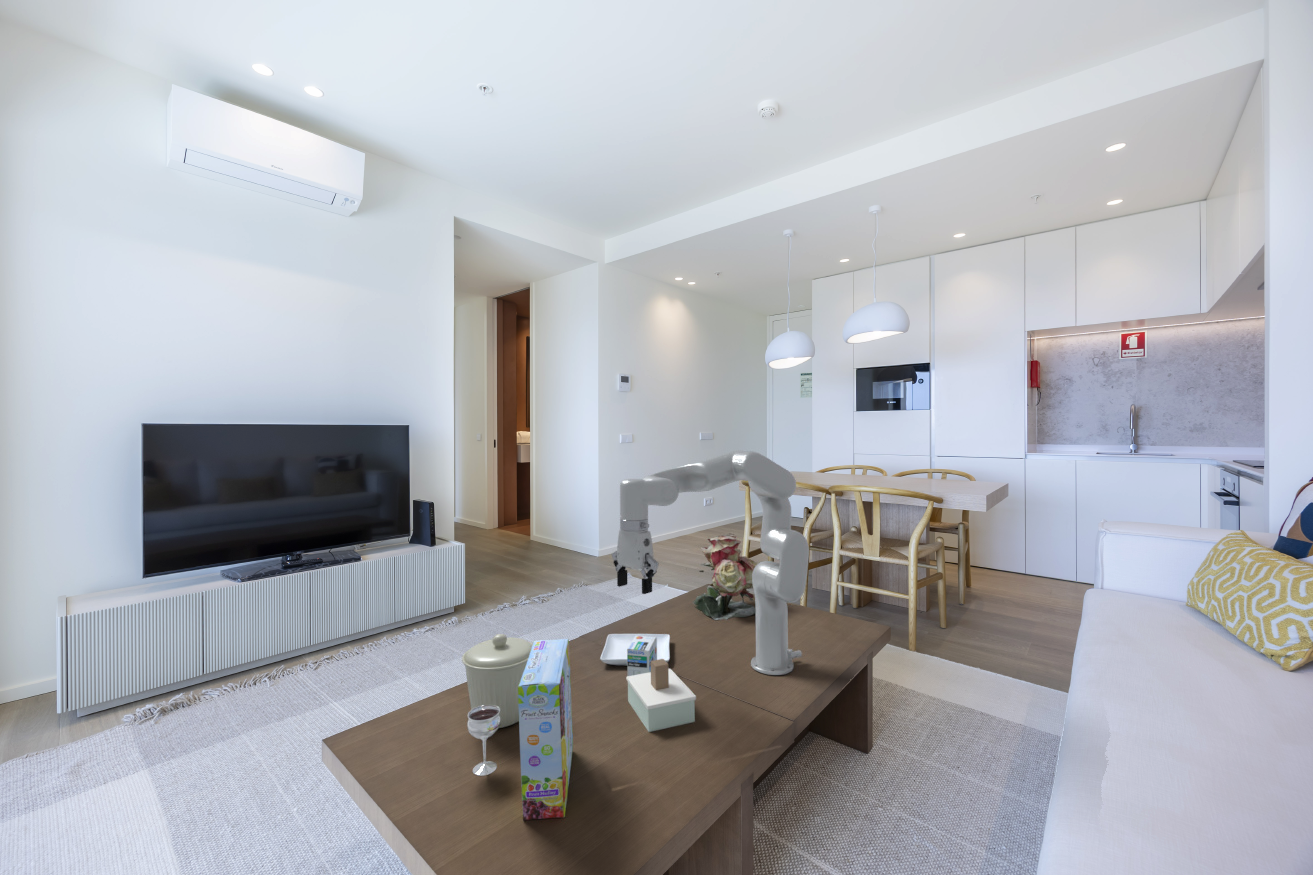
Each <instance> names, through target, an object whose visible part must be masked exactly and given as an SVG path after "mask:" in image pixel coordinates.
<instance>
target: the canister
mask: <svg viewBox="0 0 1313 875" xmlns="http://www.w3.org/2000/svg"><path fill="white" fill-rule="evenodd" d="M532 645H533V642H531V641H528V640H526V639H524V638H520V637H510V636H509V637H508V636H507V635H505V634H504V633H498V634H495V635H494V636H493V638H491V639H487V640H484V641H482V642H479V643H477V644H475V645H473V646H471V648H469V649H468V650H466V651H465V652H464V653H463V655H462V657H461V662H462V664H463V666H464V668H465V676H466V683H467V690H468V696H469V703H470V711H471V710H472V709H474V708H476V707H479V706H483V705H495V706H497V707H499V709H500V712H499V716H500V719H501V720H500V725H499V728H498V729H502V728H506V727H510V726H513V725H515V724H516V723H519V707H518V686H519V684H520V681H521V678H522V675H523V672H524V669H525V667H526V664H527V661H528V658H529V655H530V652H531V648H532Z"/></svg>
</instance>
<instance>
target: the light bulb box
mask: <svg viewBox="0 0 1313 875" xmlns="http://www.w3.org/2000/svg"><path fill="white" fill-rule="evenodd" d="M654 660H657V638H656V637H646V636H635V638H634V639H633V641H632V642H631V644H630V645H629V647H628V649H627V665H626V666H627V667H626V668H627V676H632V675H638V674H643V673H649V672H651V661H654Z"/></svg>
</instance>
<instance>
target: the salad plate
mask: <svg viewBox="0 0 1313 875" xmlns="http://www.w3.org/2000/svg"><path fill="white" fill-rule="evenodd" d="M635 636H646V637H656V638H657V660H659V659H664V660H665V661H666V662H667V663H669V662H670V658H671V655H670V643H671V642H670V640H671V636H670V634H667V633H610V634H608V635H607V636H606V640H605V644H604V647H603V649H602V652H601V655H600V656H599V657H600V658H599V660H600V661H601V662H602V663H605V664H607V665H611V666H613V665H614V666H627V649H628V647H629V645H630V644H631V642H632V641H633V639H634V638H635Z"/></svg>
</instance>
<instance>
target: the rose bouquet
mask: <svg viewBox="0 0 1313 875" xmlns="http://www.w3.org/2000/svg"><path fill="white" fill-rule="evenodd" d="M706 540H707V541H708V542H709V544H710V545H709V546H708V547H706V546H704V547H700V549H701V551H702V553H703V555H704V558H706V560H707V562H708V563H707V562H705V563H701V564H700V566H705V567H709V568H711V569H709V570H708V571H710V570H711V571H713V575H712V576H711V580H712V583H710V585H708V586H706V589H707V591H706V592H704V593H702V594H700V595H697V596H696V598H695V600H693V601H692V603H694V604H695V605H694V608H695V609H697V610H698V611H699V612H702V613H703V614H704V615H705V616H707V617H709V618H711V619H712V620H714V621H719V620H725V621H726V622H727V621H728V619H730V618H733V617H734V618H735V617H737V618H746V617H750V616H752V615H755V614H756V608H755V605H751V604H750V603H749V604H748V603H747V602H745V601H744V597H747V598H748V600H749V601H750V602H754V599H755V595H754V593H751V592H750V591H749V590H751V589H752V590H754V589H753V584H752V573H753V570H754V568H755V566H756V565H757V564H758V562H757V561H754V560H753V559H751V558H749V557H748V556H740V555H741V553H742V551H741V550H740V549H738V547H739V546H740V544H741V542H742V541H741V540H740V539H739V540H738V539H737V535H735V534H734V533H733V532H729V533H727V534H724V535H723V534H722V535H721V534H719V535H717V536H716V537H711V538H707V539H706ZM685 570H687V568H686V569H685ZM704 571H705V570H702V569H700V570H698V572H700V573H704ZM738 596H740V597H741V598H742V600H741V601H735V600H733V597H738ZM753 598H754V599H753ZM728 608H729V609H730V611H729V609H728Z"/></svg>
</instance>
